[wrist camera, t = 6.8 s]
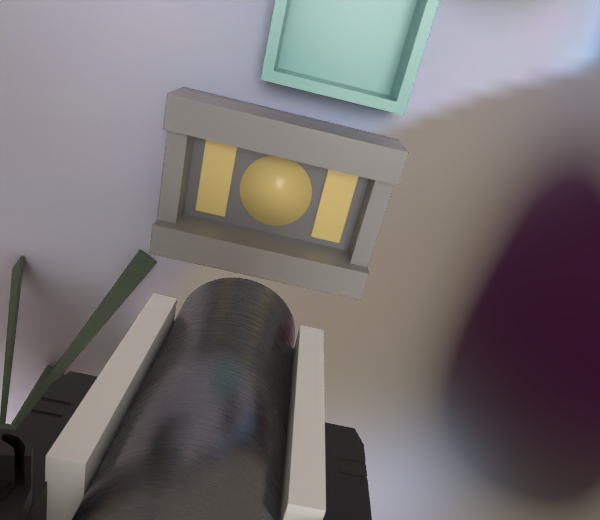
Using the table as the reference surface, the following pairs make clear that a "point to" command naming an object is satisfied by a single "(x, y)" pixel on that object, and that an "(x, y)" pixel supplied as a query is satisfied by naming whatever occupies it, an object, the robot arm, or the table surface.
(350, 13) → the tray
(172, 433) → the aa cell
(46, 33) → the table surface
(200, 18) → the table surface
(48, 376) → the camera
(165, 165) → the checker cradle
